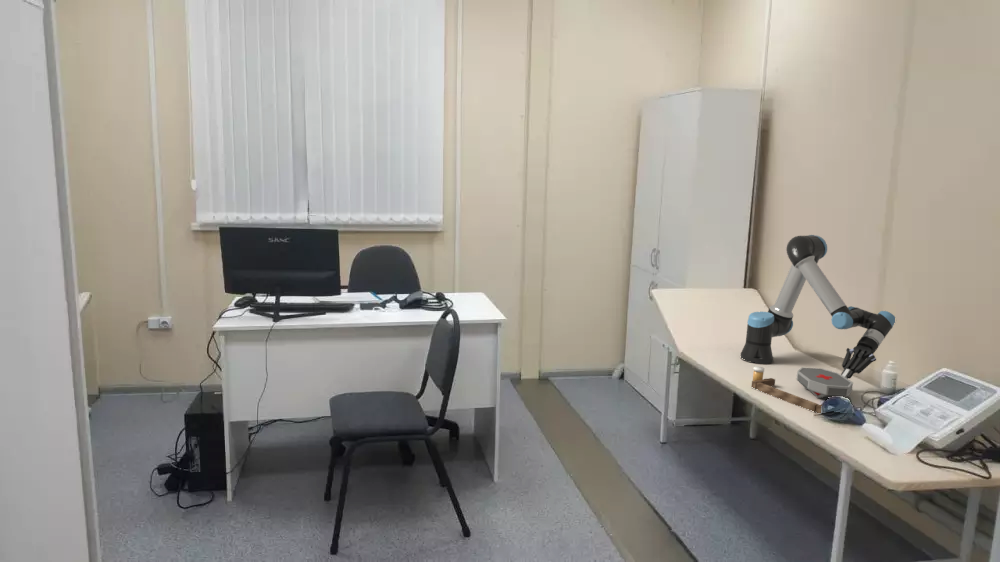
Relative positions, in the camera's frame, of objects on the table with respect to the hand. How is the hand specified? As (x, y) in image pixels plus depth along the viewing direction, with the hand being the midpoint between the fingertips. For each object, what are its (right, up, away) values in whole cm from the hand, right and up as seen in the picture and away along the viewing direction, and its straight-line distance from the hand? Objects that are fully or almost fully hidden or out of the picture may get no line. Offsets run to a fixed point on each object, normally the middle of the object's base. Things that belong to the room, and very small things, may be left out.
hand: (841, 382), depth 279 cm
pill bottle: (-34, -1, +5) cm, 35 cm away
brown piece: (-25, -5, -12) cm, 28 cm away
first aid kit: (-10, -4, -4) cm, 12 cm away
